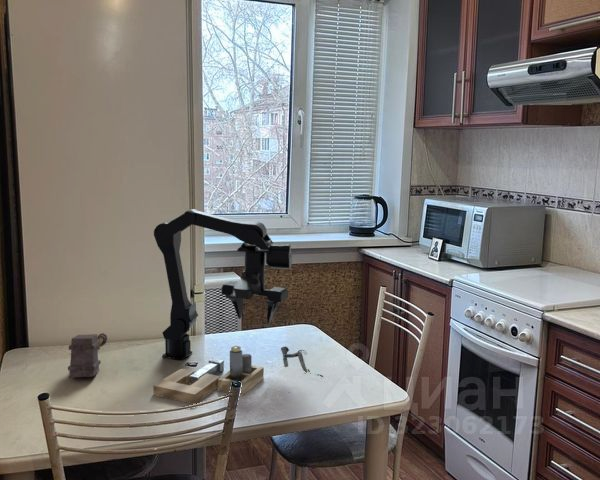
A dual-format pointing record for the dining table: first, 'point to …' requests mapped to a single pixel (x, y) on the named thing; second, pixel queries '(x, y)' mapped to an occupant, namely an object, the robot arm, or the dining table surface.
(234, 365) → the grey metal cylinder
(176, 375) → the socket block
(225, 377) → the rack
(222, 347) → the dining table surface
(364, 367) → the dining table surface
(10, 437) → the dining table surface
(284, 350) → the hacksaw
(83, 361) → the hammer
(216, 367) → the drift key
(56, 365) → the dining table surface
